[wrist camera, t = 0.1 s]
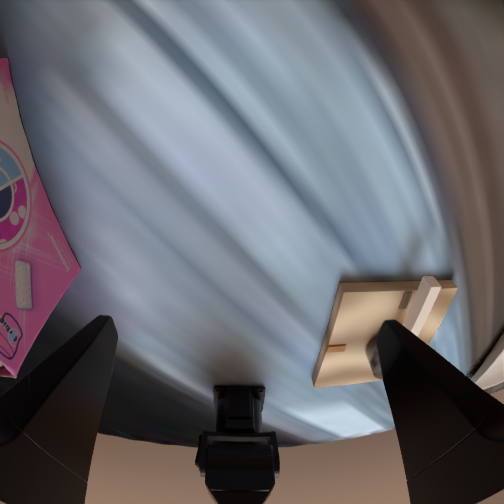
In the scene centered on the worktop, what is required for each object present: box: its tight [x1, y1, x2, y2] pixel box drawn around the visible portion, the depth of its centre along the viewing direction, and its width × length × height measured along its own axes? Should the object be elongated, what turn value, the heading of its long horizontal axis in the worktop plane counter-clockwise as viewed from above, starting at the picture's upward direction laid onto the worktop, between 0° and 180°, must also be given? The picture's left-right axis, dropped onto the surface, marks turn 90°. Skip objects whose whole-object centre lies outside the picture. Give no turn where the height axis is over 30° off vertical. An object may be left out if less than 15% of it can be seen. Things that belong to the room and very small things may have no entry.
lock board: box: [312, 280, 458, 387], centre depth 30 cm, size 15×14×2 cm
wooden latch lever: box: [365, 276, 441, 379], centre depth 26 cm, size 13×5×3 cm, turn 178°
